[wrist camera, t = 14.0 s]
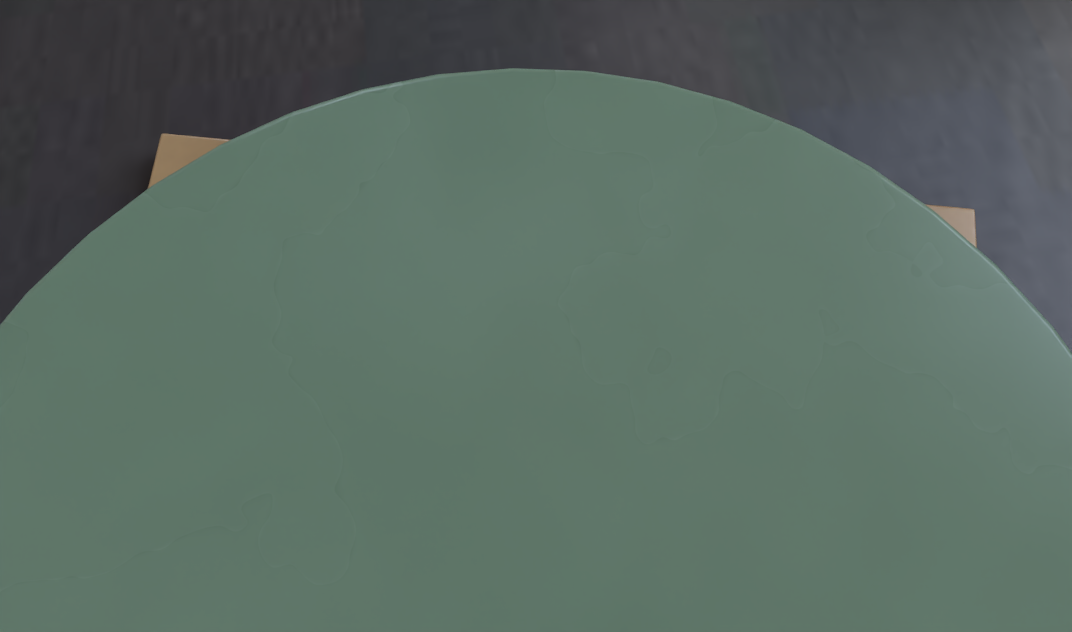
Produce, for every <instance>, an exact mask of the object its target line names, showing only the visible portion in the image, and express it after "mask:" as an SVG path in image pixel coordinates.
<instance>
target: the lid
mask: <svg viewBox="0 0 1072 632" xmlns="http://www.w3.org/2000/svg"><path fill="white" fill-rule="evenodd" d="M0 632H1072V352H1071V351H1070V350H1069V348H1068V347H1067V346H1066V344H1065V343H1064V342H1063V340H1062V339H1061V337H1060V336H1059V335H1058V333H1057V332H1056V331H1055V329H1054V328H1053V327H1052V326H1051V324H1050V323H1049V322H1048V321H1047V320H1046V319H1045V318H1044V317H1043V316H1042V315H1041V314H1040V312H1039V311H1038V310H1037V309H1036V308H1035V307H1034V306H1033V305H1032V304H1031V303H1030V301H1029V300H1028V299H1027V298H1026V297H1025V296H1024V295H1023V294H1022V293H1021V292H1020V291H1019V289H1018V288H1017V287H1016V286H1015V285H1014V284H1013V283H1012V282H1011V281H1010V280H1009V279H1008V277H1007V276H1006V275H1005V274H1004V273H1003V272H1002V271H1001V270H1000V269H999V268H998V266H997V265H995V264H994V263H993V262H992V261H991V260H990V259H989V258H987V257H986V256H985V255H984V254H983V253H982V252H981V251H979V250H978V249H977V248H976V247H975V246H974V245H973V244H971V243H970V242H969V241H968V240H967V239H966V238H965V237H963V236H962V235H961V234H960V233H959V232H958V231H957V230H955V229H954V228H953V227H952V226H951V225H950V224H949V223H947V222H946V221H945V220H944V219H943V218H942V217H941V216H939V215H938V214H937V213H936V212H935V211H933V210H932V209H931V208H929V207H928V206H926V205H925V204H923V203H922V202H920V201H919V200H918V199H916V198H915V197H913V196H912V195H910V194H909V193H907V192H906V191H905V190H903V189H902V188H900V187H899V186H897V185H896V184H894V183H893V182H892V181H890V180H889V179H887V178H886V177H884V176H883V175H882V174H880V173H879V172H877V171H876V170H874V169H873V168H871V167H870V166H868V165H866V164H864V163H863V162H861V161H859V160H857V159H855V158H853V157H851V156H850V155H848V154H846V153H844V152H842V151H840V150H838V149H837V148H835V147H833V146H831V145H829V144H827V143H825V142H824V141H822V140H820V139H818V138H816V137H814V136H812V135H811V134H809V133H807V132H805V131H803V130H801V129H799V128H796V127H794V126H791V125H789V124H786V123H784V122H781V121H779V120H776V119H773V118H771V117H768V116H766V115H763V114H761V113H758V112H756V111H753V110H751V109H748V108H746V107H743V106H741V105H738V104H736V103H733V102H731V101H727V100H723V99H720V98H716V97H712V96H709V95H705V94H701V93H698V92H694V91H690V90H686V89H683V88H679V87H675V86H672V85H668V84H664V83H661V82H656V81H649V80H642V79H636V78H629V77H622V76H616V75H609V74H602V73H596V72H589V71H573V70H543V69H514V68H510V69H498V70H486V71H474V72H461V73H449V74H437V75H432V76H427V77H422V78H417V79H412V80H407V81H402V82H397V83H392V84H387V85H382V86H377V87H372V88H367V89H363V90H360V91H356V92H353V93H350V94H347V95H344V96H341V97H338V98H335V99H332V100H329V101H325V102H322V103H319V104H316V105H313V106H310V107H307V108H304V109H301V110H298V111H294V112H291V113H289V114H287V115H285V116H282V117H280V118H278V119H276V120H274V121H271V122H269V123H267V124H265V125H263V126H260V127H258V128H256V129H254V130H252V131H249V132H247V133H245V134H243V135H241V136H238V137H236V138H234V139H232V140H230V141H227V142H225V143H223V144H221V145H219V146H217V147H216V148H214V149H212V150H211V151H209V152H207V153H206V154H204V155H202V156H201V157H199V158H197V159H196V160H194V161H192V162H191V163H189V164H187V165H186V166H184V167H182V168H181V169H179V170H177V171H176V172H174V173H172V174H171V175H169V176H167V177H166V178H164V179H162V180H161V181H159V182H157V183H156V184H154V185H152V186H151V187H150V188H148V189H147V190H146V191H144V192H143V193H142V194H141V195H139V196H138V197H137V198H135V199H134V200H133V201H131V202H130V203H129V204H127V205H126V206H125V207H124V208H122V209H121V210H120V211H118V212H117V213H116V214H114V215H113V216H112V217H110V218H109V219H108V220H107V221H105V222H104V223H103V224H101V225H100V226H99V227H97V228H96V229H95V230H93V231H92V232H91V233H90V234H88V235H87V236H86V237H85V238H84V239H83V240H82V241H81V242H80V243H79V244H78V245H77V246H75V247H74V248H73V249H72V250H71V251H70V252H69V253H68V254H67V255H66V256H65V257H64V258H63V259H62V260H61V261H60V262H59V263H58V264H57V265H56V266H55V267H54V268H53V269H52V270H51V271H49V272H48V273H47V274H46V275H45V276H44V277H43V278H42V279H41V280H40V281H39V282H38V283H37V284H36V285H35V286H34V287H33V288H32V289H31V290H30V291H29V292H28V293H27V294H26V295H25V296H24V297H23V298H22V299H21V301H20V302H19V303H18V304H17V305H16V307H15V308H14V309H13V310H12V311H11V313H10V314H9V315H8V316H7V317H6V319H5V320H4V321H3V322H2V323H1V325H0Z"/></svg>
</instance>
